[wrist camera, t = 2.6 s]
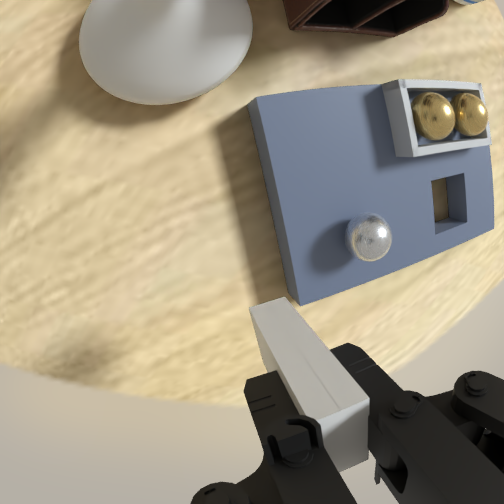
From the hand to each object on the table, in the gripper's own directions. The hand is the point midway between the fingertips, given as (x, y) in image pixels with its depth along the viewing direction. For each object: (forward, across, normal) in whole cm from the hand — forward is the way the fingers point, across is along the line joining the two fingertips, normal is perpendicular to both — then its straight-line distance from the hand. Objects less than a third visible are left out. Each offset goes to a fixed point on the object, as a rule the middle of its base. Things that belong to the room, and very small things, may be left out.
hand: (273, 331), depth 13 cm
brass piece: (+6, +16, +8) cm, 19 cm away
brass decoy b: (+6, +20, +8) cm, 23 cm away
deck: (+11, +14, +3) cm, 18 cm away
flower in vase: (+11, -2, +17) cm, 20 cm away
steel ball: (+7, +9, 0) cm, 11 cm away
